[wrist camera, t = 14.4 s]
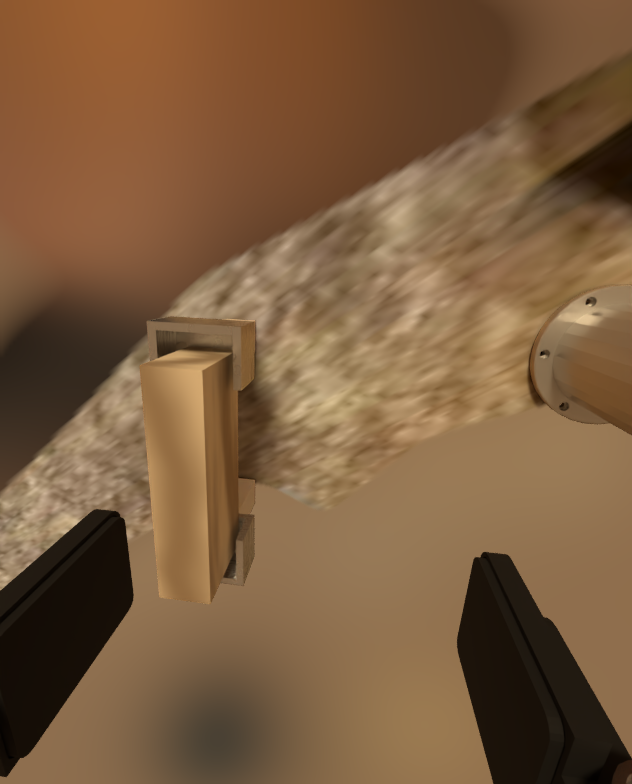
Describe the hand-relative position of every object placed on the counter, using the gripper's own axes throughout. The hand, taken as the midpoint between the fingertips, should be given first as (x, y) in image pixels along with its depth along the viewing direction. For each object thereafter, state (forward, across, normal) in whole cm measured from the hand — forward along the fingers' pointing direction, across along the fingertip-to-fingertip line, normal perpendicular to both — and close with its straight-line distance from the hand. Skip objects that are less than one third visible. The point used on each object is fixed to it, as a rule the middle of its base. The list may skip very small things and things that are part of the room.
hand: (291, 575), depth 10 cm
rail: (+20, +10, +7) cm, 24 cm away
